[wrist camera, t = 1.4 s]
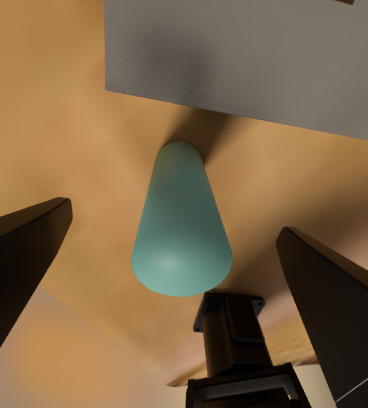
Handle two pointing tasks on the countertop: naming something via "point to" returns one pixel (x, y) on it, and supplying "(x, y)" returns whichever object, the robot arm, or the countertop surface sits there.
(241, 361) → the robot arm
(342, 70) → the socket
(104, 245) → the countertop surface
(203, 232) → the long peg
